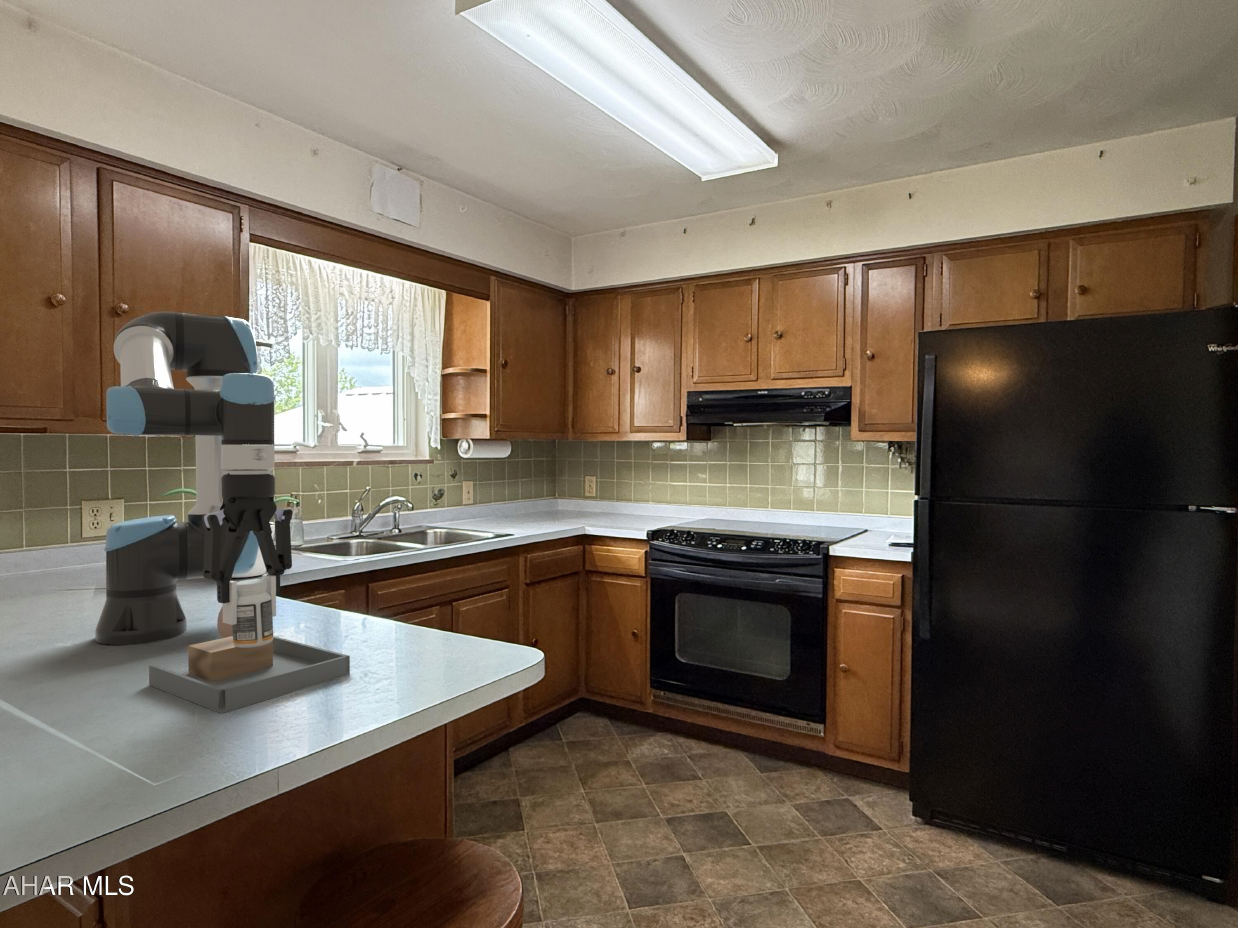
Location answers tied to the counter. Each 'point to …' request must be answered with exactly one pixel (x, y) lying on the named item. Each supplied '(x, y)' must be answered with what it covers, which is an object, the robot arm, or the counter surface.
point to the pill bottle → (253, 614)
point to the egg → (224, 626)
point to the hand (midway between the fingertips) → (249, 618)
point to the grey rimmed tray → (256, 677)
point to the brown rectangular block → (226, 659)
